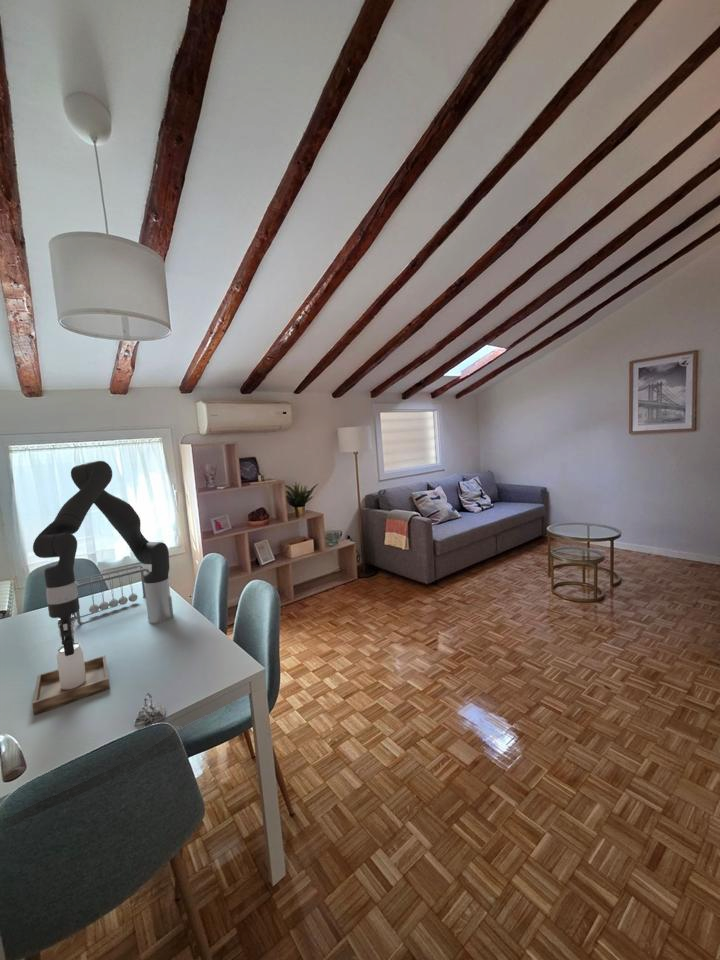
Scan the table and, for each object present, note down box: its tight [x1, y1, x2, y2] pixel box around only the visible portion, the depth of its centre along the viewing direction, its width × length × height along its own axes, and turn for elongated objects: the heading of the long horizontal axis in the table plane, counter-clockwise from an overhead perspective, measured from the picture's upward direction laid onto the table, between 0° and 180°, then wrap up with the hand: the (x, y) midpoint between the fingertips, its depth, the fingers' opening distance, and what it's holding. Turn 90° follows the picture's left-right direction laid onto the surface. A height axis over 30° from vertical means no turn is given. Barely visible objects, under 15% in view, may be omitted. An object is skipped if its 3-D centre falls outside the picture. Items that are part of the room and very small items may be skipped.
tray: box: [31, 655, 111, 716], centre depth 123 cm, size 18×18×4 cm
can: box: [56, 642, 86, 690], centre depth 123 cm, size 6×6×12 cm
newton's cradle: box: [71, 565, 151, 626], centre depth 183 cm, size 30×10×18 cm, turn 136°
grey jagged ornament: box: [133, 691, 166, 727], centre depth 104 cm, size 9×9×8 cm
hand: (69, 649), depth 123 cm, fingers open, 8 cm apart
